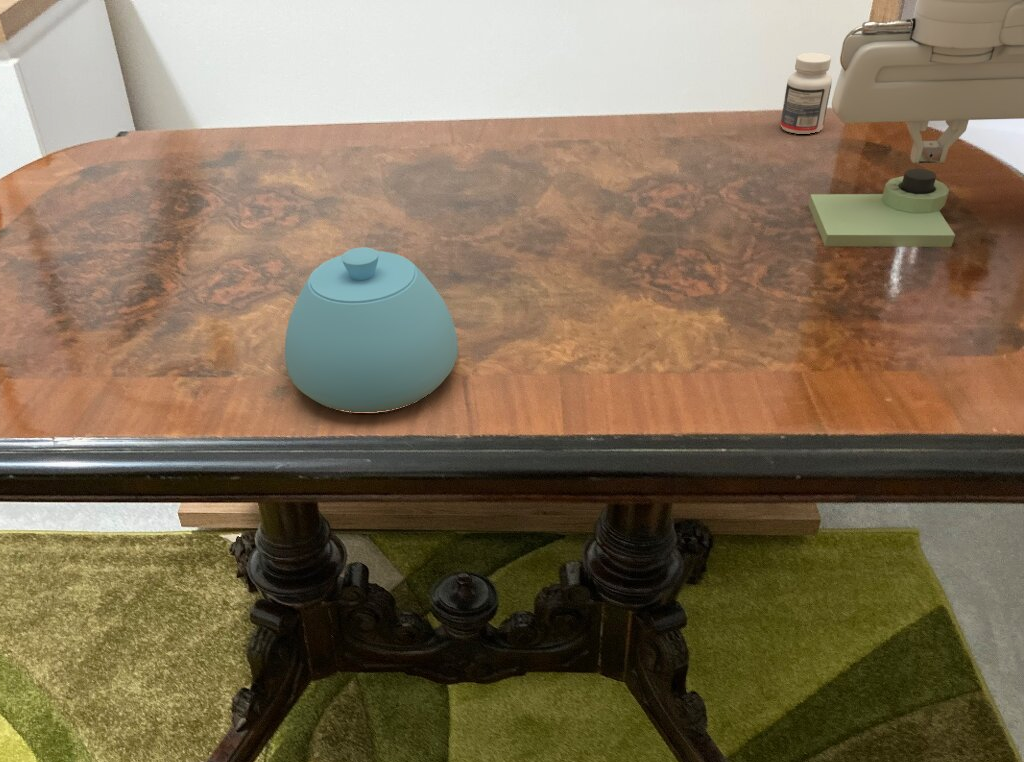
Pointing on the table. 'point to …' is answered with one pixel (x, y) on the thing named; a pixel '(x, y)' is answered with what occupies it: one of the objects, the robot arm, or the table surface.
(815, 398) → the table surface
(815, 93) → the pill bottle
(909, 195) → the scale
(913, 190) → the button
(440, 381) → the sugar bowl
